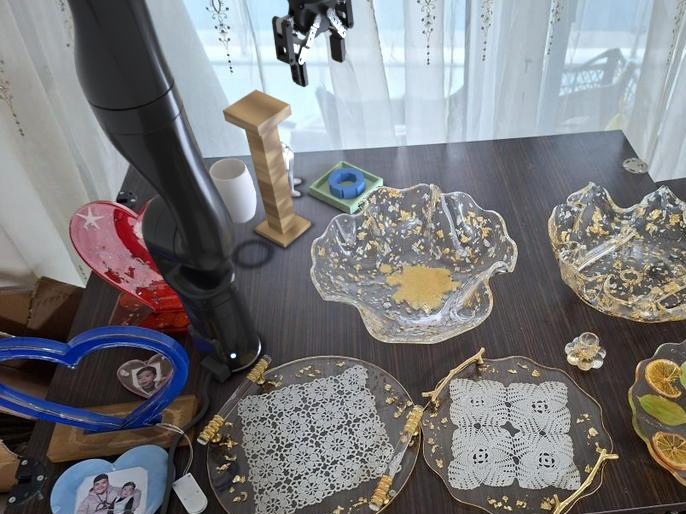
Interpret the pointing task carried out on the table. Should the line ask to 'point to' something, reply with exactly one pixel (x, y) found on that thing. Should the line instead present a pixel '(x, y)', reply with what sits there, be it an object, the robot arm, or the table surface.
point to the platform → (268, 163)
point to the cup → (235, 188)
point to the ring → (346, 191)
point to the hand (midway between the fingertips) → (320, 72)
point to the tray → (349, 205)
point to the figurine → (290, 169)
